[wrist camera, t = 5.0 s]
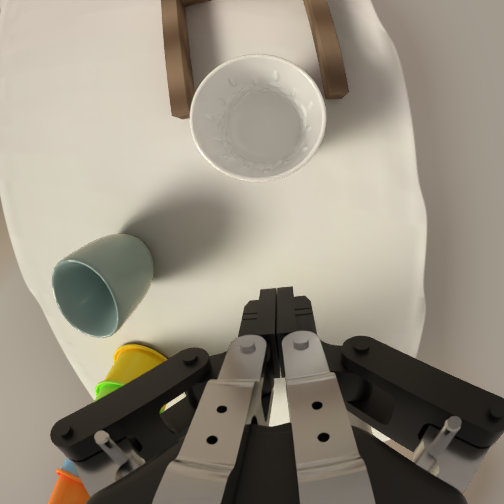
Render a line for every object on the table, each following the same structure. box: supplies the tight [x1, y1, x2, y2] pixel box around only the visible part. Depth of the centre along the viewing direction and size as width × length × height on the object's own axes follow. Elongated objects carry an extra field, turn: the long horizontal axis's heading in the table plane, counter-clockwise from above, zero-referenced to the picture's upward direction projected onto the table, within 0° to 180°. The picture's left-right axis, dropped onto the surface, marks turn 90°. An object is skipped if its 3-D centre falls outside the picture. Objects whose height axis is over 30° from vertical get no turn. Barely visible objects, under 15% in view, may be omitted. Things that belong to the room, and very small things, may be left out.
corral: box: [161, 0, 349, 119], centre depth 19 cm, size 15×15×3 cm
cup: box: [52, 234, 154, 338], centre depth 24 cm, size 8×8×10 cm
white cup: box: [190, 54, 327, 182], centre depth 19 cm, size 8×8×10 cm
